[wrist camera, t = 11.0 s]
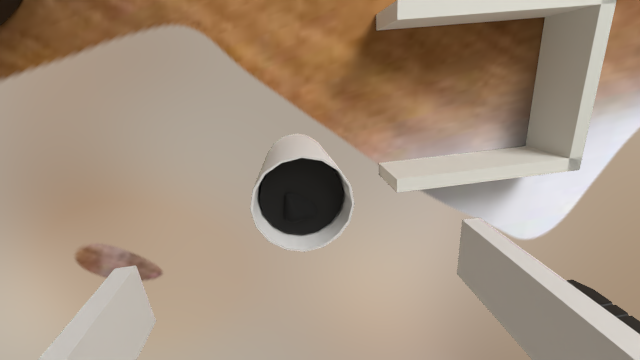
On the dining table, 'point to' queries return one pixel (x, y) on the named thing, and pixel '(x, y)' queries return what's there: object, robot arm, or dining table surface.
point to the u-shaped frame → (548, 97)
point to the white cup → (301, 196)
